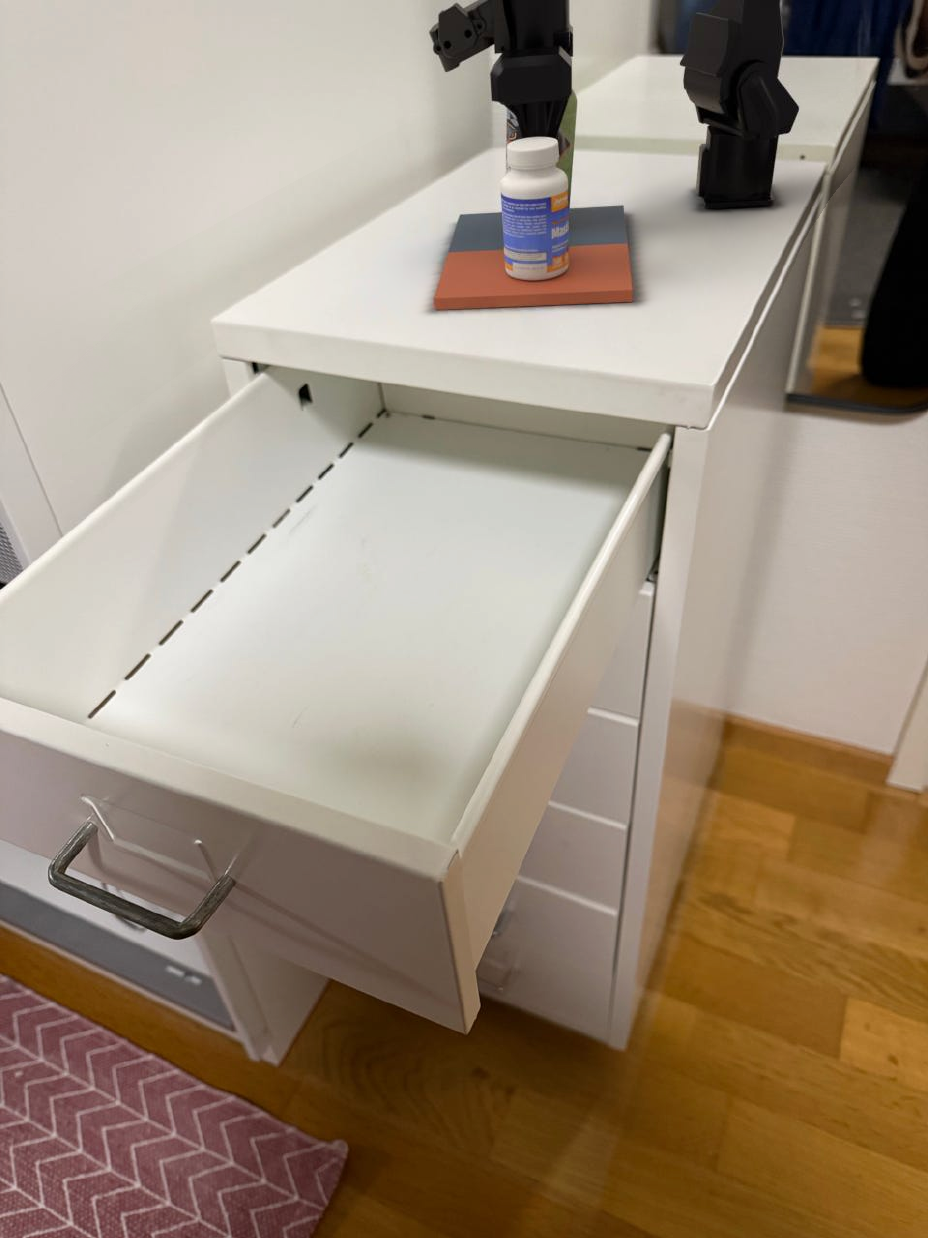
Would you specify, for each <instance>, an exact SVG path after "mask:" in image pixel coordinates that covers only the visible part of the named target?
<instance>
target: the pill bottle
mask: <svg viewBox="0 0 928 1238" xmlns="http://www.w3.org/2000/svg"><path fill="white" fill-rule="evenodd" d="M558 158H559V150H558V141H557V140H556V139H554V138H550V137H530V138H523V139H519V140H515V141H513V142H511V143H509V144H508V145H507V163H508V166H509V167H511V171H510V172H509V173H507V174H506V173H505V174H504V176H503V177H502V179H501V180H500V185H499V187H500V205H501V212H502V222H503V238H504V258H505V269H506V272H507V273H508V275H510V276H511V277H514V278H517V279H521V280H531V281H535V280H545V279H550V278H553V277H556V276H559V275H561V274H562V273H564V272H565V271H566V270H567V268H568V266H569V217H568V214H569V212H568V178H567V175H566V174H565V172H564V171H562V170H561V169H559V168H556V163H557V162H558V160H559V159H558Z"/></svg>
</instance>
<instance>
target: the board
mask: <svg viewBox="0 0 928 1238" xmlns="http://www.w3.org/2000/svg"><path fill="white" fill-rule="evenodd" d="M625 215H626V214H625V207H624V205H605V206H588V207H587V206H586V207H584V206H583V207H570V210H569V214H568V217H569V266H568V268H567V270H566V271H565V272H564V273H562V274H561V275H559V276H556V277H553V278H550V279H545V280H535V281H531V280H521V279H517V278H514V277H511V276H510V275H508V273H507V272H506V269H505V258H504V238H503V222H502V211H497V212H479V213H463V214H459V216H458V219H457V223H456V225H455V229H454V231H453V236H452V238H451V241H450V245H449V248H448V250H447V254H446V257H445V260H444V264H443V266H442V270H441V274H440V276H439V280H438V283H437V287H436V289H435V292H434V295H433V309H434V310H435V311H439V310H440V311H441V310H444V311H445V310H446V311H447V310H465V309H466V310H467V309H468V310H469V309H491V308H513V307H537V306H539V307H540V306H560V305H562V306H563V305H564V306H565V305H585V304H586V305H587V304H589V305H590V304H608V303H611V304H612V303H632V302H633V296H634V288H633V277H632V269H631V261H630V252H629V243H628V242H629V241H628V233H627V226H626V225H627V224H626V216H625Z"/></svg>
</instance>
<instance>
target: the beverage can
mask: <svg viewBox="0 0 928 1238" xmlns="http://www.w3.org/2000/svg"><path fill="white" fill-rule="evenodd" d="M577 110H578V98H577V94H576V92H575V91H574V89H573V88H572V95H570V99H569V101H568V104H567V107H566V110H565V113H564V116H563V119H562V122H561V125H560V128H559V131H558V134H557V137H556V140H557V141H558V150H559V158H558V159H559V160H558V162H557V163H556V168H559V169H561V170H562V171H564V172H565V174H566V175H567V178H568V212H569V210H570V208H571V195H572V181H573V169H574V168H573V167H574V153H575V141H576V129H577V128H576V127H577V115H578V113H577V112H578V111H577ZM505 138H506V139H505V140H506V141H505V175H506V174H507V173H509V172H510V171H511V167H509V166H508V163H507V145H508V144H509V143H511V142H513V141H515V140H519V139H522V138H521V134H520V130H519V126H518V122H517V118H516V116H515V115H514V114H513V113H512V112H511V111H510V110H509V109H508V108H506V135H505Z"/></svg>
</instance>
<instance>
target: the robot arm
mask: <svg viewBox="0 0 928 1238" xmlns="http://www.w3.org/2000/svg"><path fill="white" fill-rule="evenodd" d="M781 1H782V0H717V2H716V3H715V4H714V6H713V7H712V9H711V10H710V12H709V13H708V14H706V13H701V12H695V13H694V14H693V16H692V19H691V22H690V26H689V37H688V43H687V46H686V48H685V52H684V54H683V56H682V58H681V60H680V61H679V66H680V67H683V68H684V70H683V79H682V81H683V89H684V90H685V92H686V94H687V97H688V98H689V100H690V102H692V103H693V104H694V108H695V112H696V116H697V120H698V123H700V124H702V125H707V126H706V134H705V135H706V137H705V143H701V144H700V145H699V147H698V158H697V159H698V160H697V170H696V180H695V181H696V182H695V190H696V193H697V196H698V198H701V201H702V205H703V207H704V208H706V209H719V208H720V209H721V208H736V207H737V208H739V207H757V206H759V207H760V206H772V205H774V203H775V196H774V195H773V193H772V188H773V181H774V174H775V165H776V159H777V153H778V145H779V138H780V136H782V135H786V134H789V133H790V132H792V128H793V126H794V124H795V121H796V118H797V116H798V114H799V111H800V106H799V105H798V103H797V102H796V101H795V99H794V98H793V96H792V95H791V94H790V93H789V91H788V90H787V88H786V87H785V86H784V85H783V84H782V81H780V79H779V75H780V69H781V68H780V67H781V63H782V56H783V51H784V44H785V41H784V32H783V31H784V30H783V29H784V28H783V21H782V20H783V19H782V10H781ZM437 20H438V21H437V22H436V23H435V24H433V26H432V27H431V29H430V30H429V31H428V34H429V36H430V39H431V41H432V45H433V46H432V51H433V53H434V54H435V55H436V56H438V58H439V60H440V63H441V66H442V68H443V70H444V73H449V72H452V71H453V70H456V69H457V68H459V67H460V65H461V63H463V62H465V61H466V60H468V59H470V58H472V57H474V56H476V55H478V54H480V53H482V52H483V51H485V50H487V49H489V48H490V47H492V46H493V51H494V54H495V55H498V54H500V55H499V56H498V58H497V59H496V60H495V62H494V63H493V64H492V68H491V69H490V73H489V79H490V80H489V81H490V96H491V102H495V103H499V104H500V105H502V106H504V108H506V109H507V108H508V109H509V110H510V111H511V112H512V113H513V114H514V115H515V116H516V118H517V122H518V126H519V130H520V134H521V138H522V139H523V138H530V137H550V138H554V139H556V137H557V134H558V131H559V128H560V125H561V122H562V119H563V116H564V113H565V110H566V107H567V104H568V101H569V99H570V95H572V89H573V57H574V27H573V26H572V24H571V22H570V21H571V20H570V0H475V1H474V2H472V3H470V4H469V5H467V6H465V7H463V6H461V5H460V4H459V2H455V3H453V4H452V5H451V6H450V7H448V8H447V9H443V10H440V12H439V13H438V15H437Z"/></svg>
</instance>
